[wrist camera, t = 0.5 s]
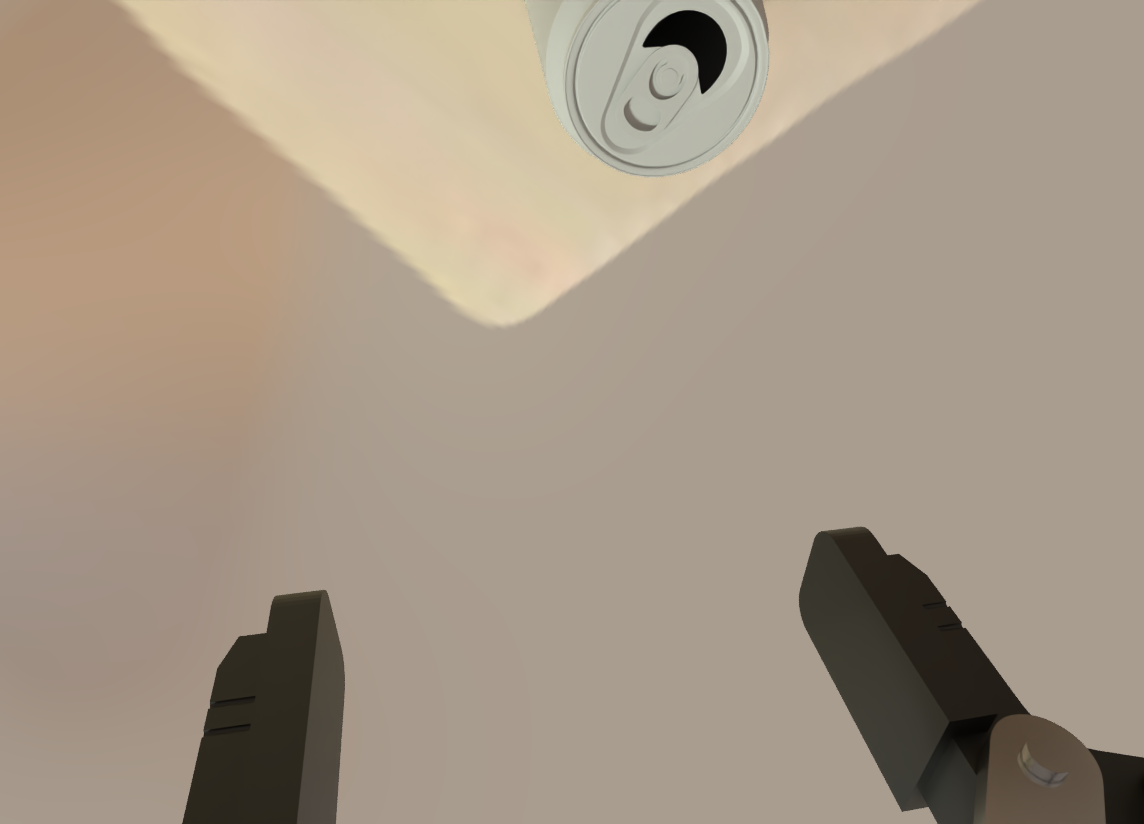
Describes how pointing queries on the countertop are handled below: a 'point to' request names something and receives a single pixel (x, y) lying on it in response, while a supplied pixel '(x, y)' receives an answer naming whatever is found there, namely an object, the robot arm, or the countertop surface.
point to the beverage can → (652, 76)
